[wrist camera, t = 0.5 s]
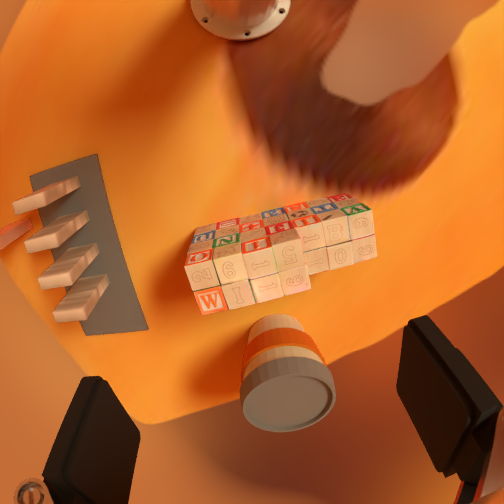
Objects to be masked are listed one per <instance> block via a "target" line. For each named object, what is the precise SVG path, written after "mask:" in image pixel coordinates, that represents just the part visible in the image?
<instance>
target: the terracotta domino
mask: <svg viewBox="0 0 504 504" xmlns="http://www.w3.org/2000/svg"><path fill="white" fill-rule="evenodd" d="M31 228H33V227H32V223H31V220H30V218H28V219H25V220H22V221H18V222H15V223H12V224H9V225H7V226H6V227H4V228H3V229H1V230H0V250H2V249H3V248H5V247H6V246H7V245H9V244H10V243H11V242H13V241H14V240H16V239H17V238H18V237H20V236H21V235H23V234H24V233H26V232H27V231H29V230H30V229H31Z"/></svg>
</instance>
